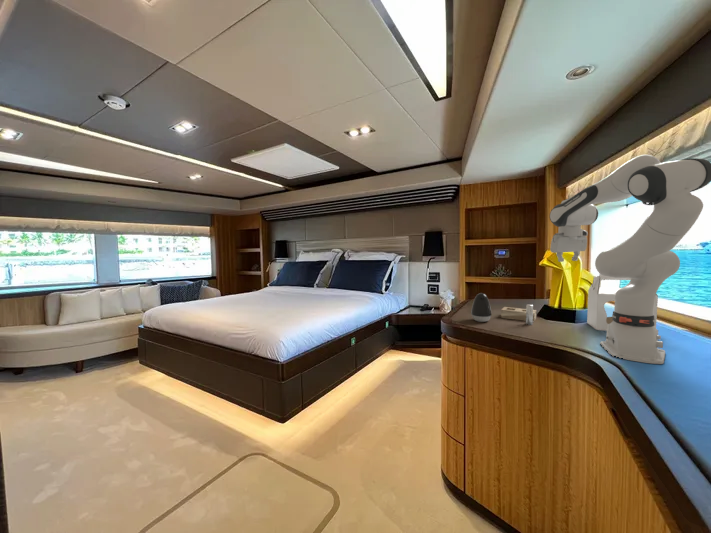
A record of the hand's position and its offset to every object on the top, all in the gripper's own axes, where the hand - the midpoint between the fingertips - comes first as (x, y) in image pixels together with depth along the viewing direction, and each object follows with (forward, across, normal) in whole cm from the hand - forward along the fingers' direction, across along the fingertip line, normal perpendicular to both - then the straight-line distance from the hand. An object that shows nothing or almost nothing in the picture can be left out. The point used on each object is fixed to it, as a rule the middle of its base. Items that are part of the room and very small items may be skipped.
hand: (567, 261), depth 148 cm
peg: (+32, -13, +9) cm, 36 cm away
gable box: (+33, +18, -13) cm, 40 cm away
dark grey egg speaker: (+33, -31, +24) cm, 51 cm away
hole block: (+33, -8, +20) cm, 39 cm away
